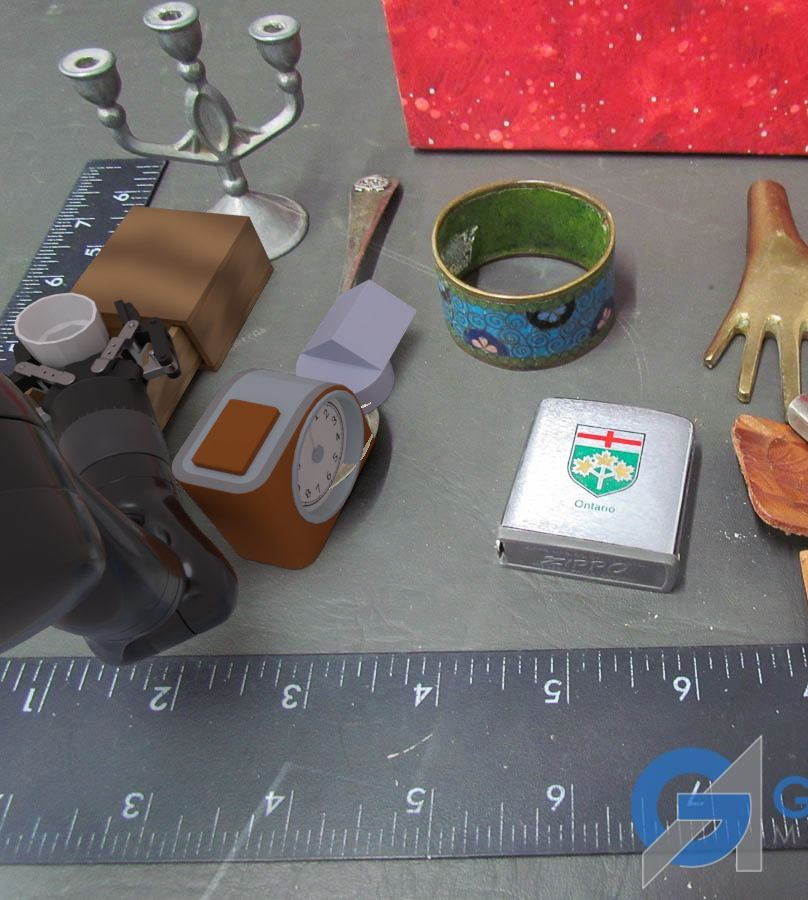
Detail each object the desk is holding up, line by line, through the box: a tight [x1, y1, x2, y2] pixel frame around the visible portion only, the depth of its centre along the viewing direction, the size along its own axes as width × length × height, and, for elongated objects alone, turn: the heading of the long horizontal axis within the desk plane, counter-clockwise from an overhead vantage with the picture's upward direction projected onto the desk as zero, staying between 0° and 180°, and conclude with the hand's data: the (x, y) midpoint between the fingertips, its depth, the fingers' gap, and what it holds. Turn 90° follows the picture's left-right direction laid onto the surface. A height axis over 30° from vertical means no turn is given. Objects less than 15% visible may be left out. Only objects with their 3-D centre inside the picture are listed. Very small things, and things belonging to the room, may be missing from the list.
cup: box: [13, 292, 110, 371], centre depth 77 cm, size 7×7×11 cm
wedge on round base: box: [295, 279, 418, 415], centre depth 83 cm, size 9×7×13 cm
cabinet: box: [68, 205, 275, 372], centre depth 88 cm, size 16×14×8 cm
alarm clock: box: [171, 367, 376, 570], centre depth 71 cm, size 15×8×14 cm, turn 166°
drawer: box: [24, 317, 203, 450], centre depth 80 cm, size 16×12×6 cm
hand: (75, 324), depth 76 cm, fingers open, 8 cm apart
